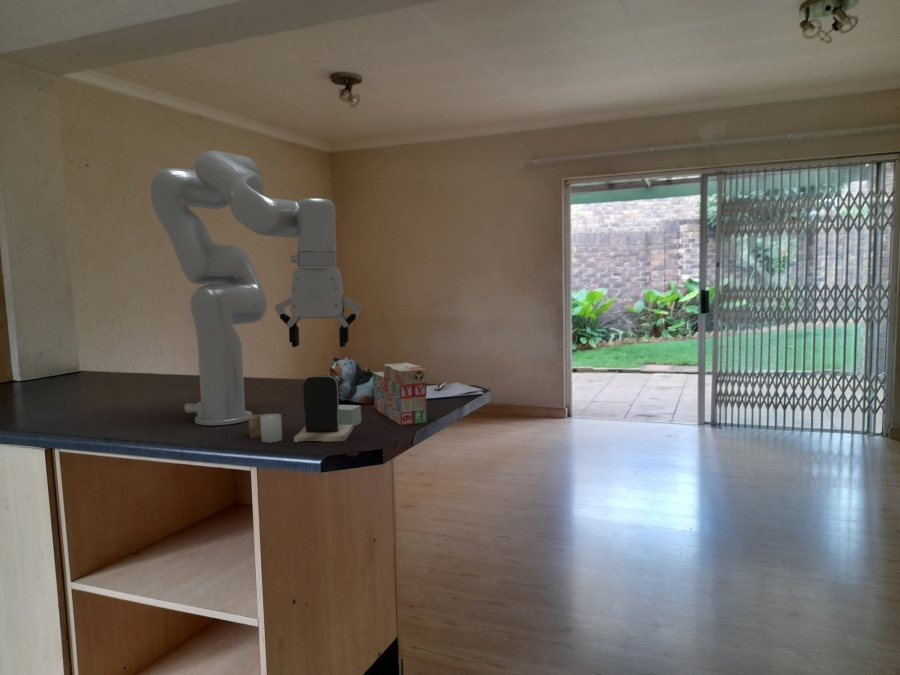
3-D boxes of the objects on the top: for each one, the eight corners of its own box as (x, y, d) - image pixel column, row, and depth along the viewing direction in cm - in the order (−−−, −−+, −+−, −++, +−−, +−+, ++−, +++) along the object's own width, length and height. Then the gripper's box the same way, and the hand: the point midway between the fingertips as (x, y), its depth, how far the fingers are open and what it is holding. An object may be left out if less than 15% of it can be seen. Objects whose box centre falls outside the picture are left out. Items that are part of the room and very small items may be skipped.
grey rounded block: (258, 443, 121) (257, 418, 121) (264, 438, 125) (263, 413, 125) (279, 442, 121) (277, 417, 121) (284, 437, 125) (283, 413, 125)
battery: (342, 428, 128) (340, 373, 127) (338, 432, 124) (336, 376, 123) (308, 428, 128) (306, 374, 127) (304, 433, 124) (301, 377, 123)
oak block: (249, 438, 126) (248, 419, 125) (249, 434, 130) (248, 415, 129) (270, 436, 127) (269, 417, 127) (269, 432, 131) (268, 413, 130)
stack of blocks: (373, 409, 153) (372, 360, 152) (397, 406, 156) (396, 358, 155) (400, 426, 134) (399, 370, 133) (427, 423, 136) (426, 368, 135)
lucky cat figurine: (379, 405, 156) (351, 360, 153) (340, 422, 160) (312, 378, 156) (392, 380, 170) (367, 337, 166) (356, 395, 174) (330, 354, 170)
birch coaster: (294, 442, 121) (293, 437, 121) (306, 430, 131) (305, 425, 131) (344, 440, 121) (344, 435, 121) (352, 429, 131) (352, 424, 131)
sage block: (331, 427, 134) (330, 409, 134) (340, 422, 139) (340, 404, 139) (352, 428, 133) (351, 409, 133) (361, 422, 138) (360, 405, 138)
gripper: (268, 261, 120) (271, 348, 121) (357, 261, 119) (358, 348, 121) (279, 262, 127) (281, 344, 129) (363, 262, 127) (364, 344, 129)
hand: (319, 346), depth 125 cm, fingers open, 9 cm apart
